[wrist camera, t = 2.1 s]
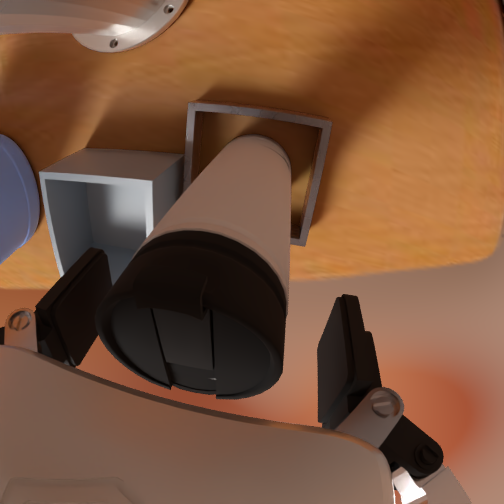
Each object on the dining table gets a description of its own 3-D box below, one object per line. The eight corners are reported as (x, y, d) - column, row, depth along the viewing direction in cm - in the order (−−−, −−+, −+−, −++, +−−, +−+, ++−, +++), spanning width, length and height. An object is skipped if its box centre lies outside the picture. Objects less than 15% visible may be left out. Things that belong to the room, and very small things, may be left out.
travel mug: (295, 133, 23) (306, 303, 6) (286, 207, 27) (270, 431, 10) (219, 127, 24) (57, 265, 7) (216, 199, 27) (114, 398, 10)
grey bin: (84, 148, 26) (38, 171, 20) (184, 154, 25) (152, 180, 19) (94, 241, 31) (60, 277, 26) (182, 257, 31) (158, 302, 25)
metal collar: (197, 99, 22) (188, 102, 20) (328, 118, 22) (332, 122, 20) (190, 214, 28) (182, 226, 26) (304, 232, 28) (305, 246, 26)
